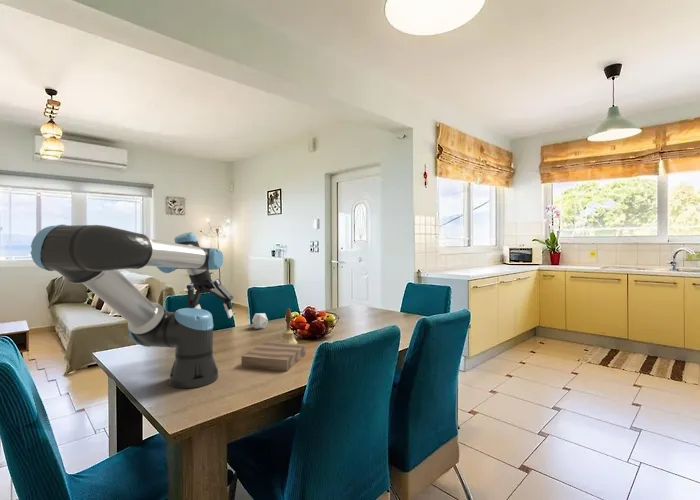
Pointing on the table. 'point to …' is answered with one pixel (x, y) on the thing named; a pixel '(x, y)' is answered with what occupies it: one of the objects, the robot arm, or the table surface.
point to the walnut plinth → (274, 356)
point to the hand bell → (288, 331)
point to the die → (259, 320)
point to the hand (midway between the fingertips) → (216, 318)
